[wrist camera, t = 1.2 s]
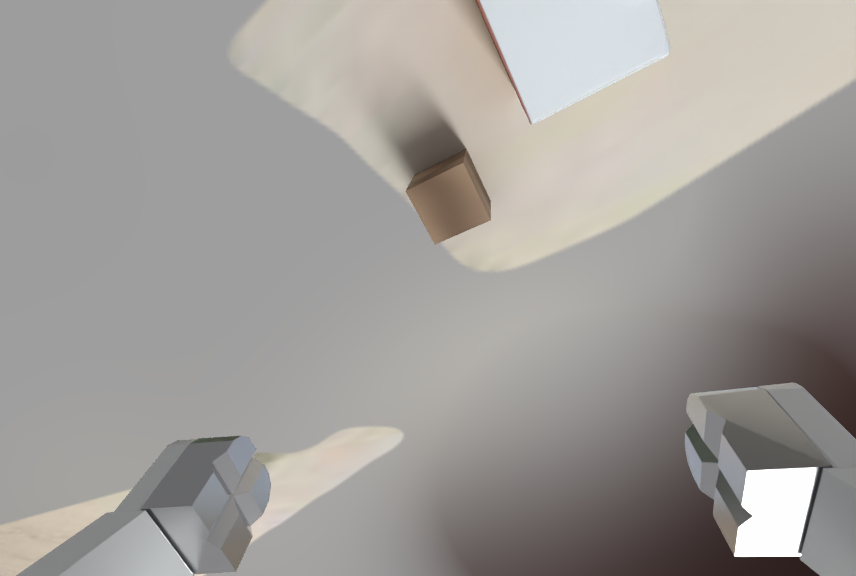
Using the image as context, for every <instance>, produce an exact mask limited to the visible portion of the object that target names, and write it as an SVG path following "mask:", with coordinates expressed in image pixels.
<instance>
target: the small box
mask: <svg viewBox="0 0 856 576" xmlns="http://www.w3.org/2000/svg"><path fill="white" fill-rule="evenodd" d="M476 3H477V5H478V7H479V10H480V12H481V14H482V17H483V19H484V21H485V24H486V26H487V28H488V31H489V33H490V35H491V38H492V40H493V42H494V44H495V46H496V49H497V51H498V53H499V55H500V58H501V60H502V62H503V64H504V67H505V69H506V71H507V73H508V76H509V78H510V80H511V82H512V84H513V86H514V88H515V91H516V93H517V95H518V98H519V100H520V102H521V105H522V107H523V109H524V111H525V113H526V115H527V117H528V119H529V122H530V123H531V124H535V123H537V122H539V121H541V120H543V119H545V118H547V117H549V116H551V115H553V114H555V113H557V112H559V111H561V110H563V109H564V108H566V107H568V106H570V105H572V104H574V103H576V102H578V101H580V100H582V99H584V98H586V97H588V96H590V95H592V94H594V93H596V92H598V91H600V90H602V89H604V88H606V87H608V86H610V85H612V84H613V83H615V82H617V81H619V80H621V79H623V78H625V77H627V76H629V75H631V74H633V73H635V72H637V71H639V70H641V69H643V68H645V67H647V66H649V65H651V64H653V63H655V62H657V61H659V60H661V59H663V58H665V57H666V56H668V55H669V54H670V50H671V49H670V43H669V39H668V35H667V31H666V27H665V23H664V20H663V16H662V12H661V8H660V4H659V1H658V0H476Z"/></svg>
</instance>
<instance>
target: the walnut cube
mask: <svg viewBox="0 0 856 576" xmlns="http://www.w3.org/2000/svg"><path fill="white" fill-rule="evenodd" d="M406 193H407V195H408V196H409V198H410V200H411V202H412V204H413V206H414V207H415V209H416V211H417V213H418V215H419V217H420V218H421V220H422V222H423V224H424V226H425V228H426V229H427V231H428V233H429V235H430V237H431V239H432V240H433V242H434V244H437V243H439V242H442V241H444V240H446V239H449V238H451V237H453V236H455V235H458V234H460V233H462V232H465V231H467V230H469V229H471V228H474V227H476V226H478V225H481V224H483V223H485V222H487V221H490V220H491V201H490V199H489V196H488V194H487V192H486V190H485V188H484V186H483V184H482V181H481V179H480V177H479V175H478V173H477V171H476V169H475V166H474V164H473V162H472V160H471V158H470V156H469V154H468V151H467V149H465V150H463V151H461V152H459V153H457V154H455V155H453V156H452V157H450V158H448V159H446V160H444V161H442V162H440V163H438V164H436V165H434V166H432V167H430V168H428V169H426V170H424V171H422V172H420V173H418V174H416V175H415V176H414V177H413V179H412V181H411V183H410V184H409V186H408V188H407V190H406Z"/></svg>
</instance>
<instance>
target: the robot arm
mask: <svg viewBox="0 0 856 576" xmlns="http://www.w3.org/2000/svg"><path fill="white" fill-rule="evenodd" d="M686 412H687V414H688V415H689V417H690V419H691V421H692V422H693V424H692V425H691V427H689V428H688V429H687V431H685V449H686V454H687V460H688V464H689V466H690V469H691V472H692V474H693V477H694V479H695V481H696V483H697V485H698V487H699V489H700V490H701V491H702V492H704V493H705V494H707V495H708V496H709V497H711V498H712V499H714V509H713V516H714V518H715V520H716V522H717V524H718V526H719V527H720V529H721V531H722V533H723V535H724V537H725V539H726V541H727V543H728V544H729V546H730V548H731V550H732V552H733V554H734V556H800V560H801V561H803V562H804V563H805V564H806V565H808V566H809V567H810V568H811V569H813V570H814V571H815V572H816V573H818V574H819V575H820V576H856V439H855V438H854V437H853V436H852V435H851V434H849V432H848V431H847V430H846V429H845V428H844V427H843V426H842V425H841V424H840V423H838V422H837V421H836V420H835V419H834V418H833V417H832V416H831V415H830V414H829V413H828V412H827V411H826V410H825V409H824V408H823V407H822V406H821V405H820V404H819V403H818V402H817V401H816V400H815V399H814V398H813V397H812V396H811V395H810V394H809V393H808V392H807V391H806V390H805V389H804V388H803V387H802V386H800V385H798V384H795V383H787V384H777V385H768V386H758V387H757V388H755V387H751V388H741V389H732V390H722V391H712V392H702V393H693V394H690V395H689V397H688V400H687V409H686ZM255 451H256V448H255V446H254V445H253V443H252V442H251V440H250V439H249V437H245V436H229V437H214V438H199V439H194V440H193V439H192V440H177V441H175V442H173V443H171V444H169V445H168V446H167V447H166V448H165V449H164V451H163V452H162V453H161V454H160V456H159V457H158V458H157V459H156V460H155V462H154V463H153V464H152V466H151V467H150V468H149V469H148V470H147V472H146V473H145V474H144V475H143V477H142V478H141V479H140V481H139V482H138V483H137V484H136V485H135V486H134V488H133V489H132V490H131V491H130V493H129V494H128V495H127V496H126V498H125V499H124V500H123V501H122V503H121V504H120V505H119V506H118V508H117V509H116V510H115V511H114V512H110V513H106V514H104V515H103V516H101V517H100V518H98V519H97V520H96V521H94V522H93V523H91V524H90V525H88V526H87V527H85V528H84V529H83V530H81V531H80V532H78V533H77V534H75V535H74V536H73V537H71V538H70V539H68V540H67V541H65V542H64V543H62V544H61V545H60V546H58V547H57V548H55V549H54V550H52V551H51V552H49V553H48V554H47V555H45V556H44V557H42V558H41V559H39V560H38V561H37V562H35V563H34V564H32V565H31V566H29V567H28V568H26V569H25V570H24V571H22V572H21V573H19V574H18V575H16V576H194V574H206V573H221V572H235V571H236V570H237V568H238V566H239V564H240V562H241V560H242V558H243V555H244V553H245V551H246V549H247V547H248V545H249V543H250V541H251V539H252V531H251V525H252V524H253V523H254V522H255V521H256V520H257V519H258V518H259V517H261V516H262V515H263V513H264V511H265V508H266V506H267V504H268V501H269V496H270V489H271V482H270V477H269V473H268V471H267V469H266V467H265V465H264V464H262V463H261V462H259V461H258V460H256V459H255V458H253V457H254V454H255Z"/></svg>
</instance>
